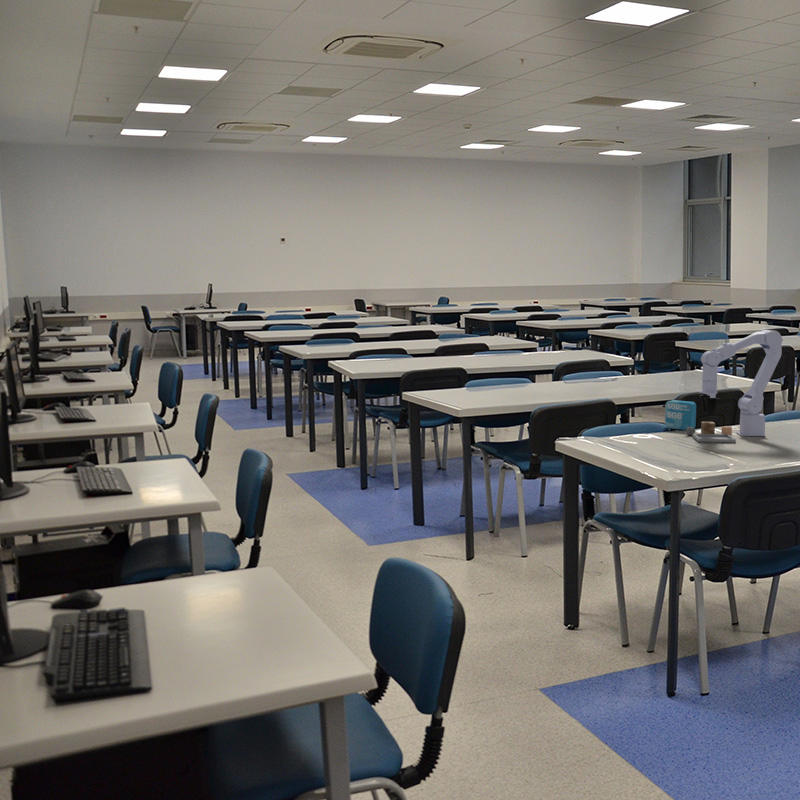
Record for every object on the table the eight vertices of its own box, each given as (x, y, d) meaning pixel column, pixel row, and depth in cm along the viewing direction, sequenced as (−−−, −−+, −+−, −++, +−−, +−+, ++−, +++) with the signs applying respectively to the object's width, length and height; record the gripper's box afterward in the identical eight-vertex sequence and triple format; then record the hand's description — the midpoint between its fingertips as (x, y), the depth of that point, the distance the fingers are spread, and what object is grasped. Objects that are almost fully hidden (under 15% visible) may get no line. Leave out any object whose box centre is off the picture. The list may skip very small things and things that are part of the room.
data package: (664, 427, 365) (665, 400, 364) (669, 426, 368) (670, 399, 367) (690, 430, 357) (691, 403, 355) (695, 429, 360) (696, 402, 358)
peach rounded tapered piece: (730, 435, 343) (730, 426, 343) (732, 437, 340) (733, 427, 339) (720, 435, 344) (720, 426, 344) (722, 437, 340) (722, 427, 340)
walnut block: (712, 434, 347) (712, 421, 346) (714, 436, 342) (715, 423, 342) (700, 434, 347) (701, 421, 347) (703, 436, 343) (703, 423, 342)
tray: (728, 437, 339) (728, 434, 339) (735, 443, 327) (735, 439, 327) (692, 437, 341) (692, 433, 341) (698, 442, 329) (698, 438, 329)
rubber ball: (693, 434, 347) (694, 426, 347) (695, 436, 344) (695, 427, 343) (685, 434, 348) (685, 426, 347) (686, 435, 344) (686, 427, 344)
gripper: (695, 378, 349) (694, 410, 351) (703, 382, 335) (702, 415, 337) (713, 378, 348) (712, 410, 350) (721, 382, 334) (720, 415, 336)
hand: (708, 413), depth 344 cm, fingers open, 7 cm apart
